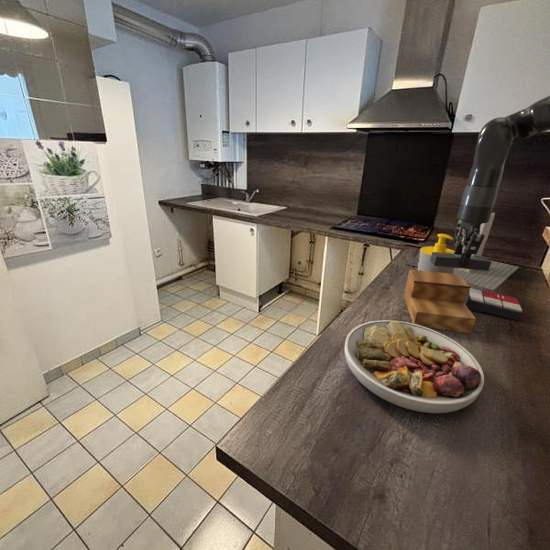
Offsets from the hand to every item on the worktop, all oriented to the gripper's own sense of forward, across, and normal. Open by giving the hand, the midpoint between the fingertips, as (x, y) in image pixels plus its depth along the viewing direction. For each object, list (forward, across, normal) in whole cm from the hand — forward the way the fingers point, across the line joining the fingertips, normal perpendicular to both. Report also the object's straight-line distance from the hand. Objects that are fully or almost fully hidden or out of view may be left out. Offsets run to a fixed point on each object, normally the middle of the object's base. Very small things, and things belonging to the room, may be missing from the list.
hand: (459, 262), depth 84 cm
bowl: (+20, -26, +15) cm, 37 cm away
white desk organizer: (+20, +57, -24) cm, 65 cm away
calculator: (+20, +14, -19) cm, 31 cm away
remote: (+1, 0, 0) cm, 1 cm away
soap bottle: (+20, +28, -3) cm, 35 cm away
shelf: (+20, +5, +1) cm, 21 cm away
